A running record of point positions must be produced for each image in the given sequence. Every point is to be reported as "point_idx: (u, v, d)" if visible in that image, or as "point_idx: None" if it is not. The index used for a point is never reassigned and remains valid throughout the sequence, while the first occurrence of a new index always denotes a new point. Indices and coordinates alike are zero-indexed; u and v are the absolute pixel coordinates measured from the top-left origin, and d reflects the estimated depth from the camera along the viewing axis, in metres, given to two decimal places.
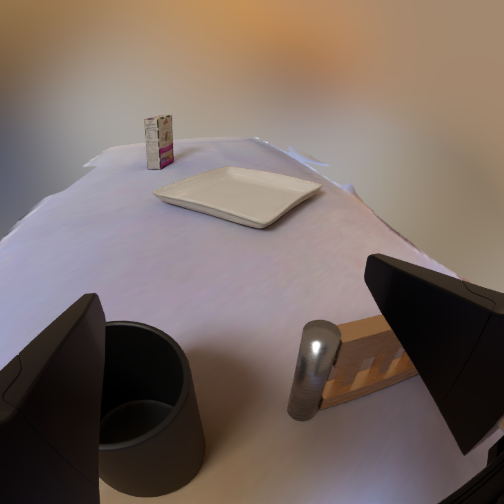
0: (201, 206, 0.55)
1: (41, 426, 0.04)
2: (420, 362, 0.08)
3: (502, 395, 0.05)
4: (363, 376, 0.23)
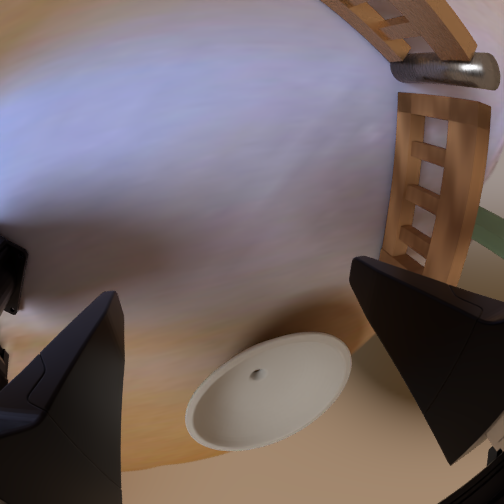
0: None
1: (68, 427, 0.04)
2: (405, 368, 0.08)
3: (489, 406, 0.05)
4: None
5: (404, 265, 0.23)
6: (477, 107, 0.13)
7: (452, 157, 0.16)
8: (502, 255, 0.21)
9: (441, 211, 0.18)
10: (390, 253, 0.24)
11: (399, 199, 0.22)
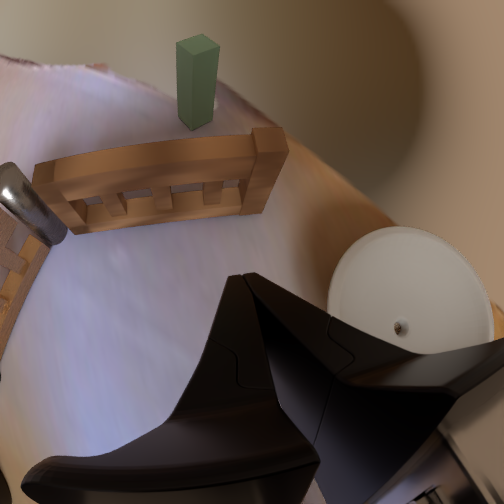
0: None
1: None
2: (285, 408, 0.07)
3: (358, 482, 0.04)
4: None
5: (244, 194, 0.21)
6: (37, 186, 0.14)
7: (98, 190, 0.17)
8: (214, 62, 0.20)
9: (159, 183, 0.18)
10: (239, 207, 0.23)
11: (175, 214, 0.22)
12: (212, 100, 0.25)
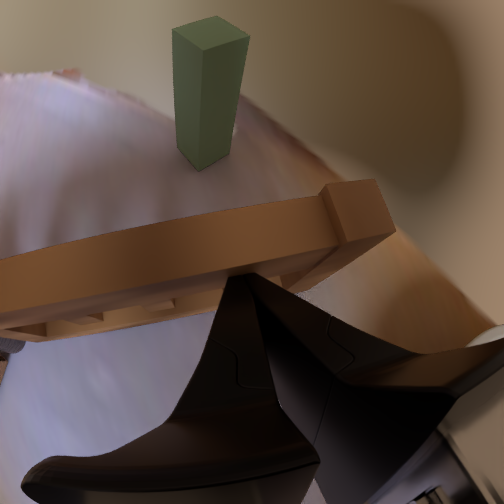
0: None
1: None
2: (285, 407, 0.07)
3: (358, 482, 0.04)
4: None
5: (292, 280, 0.13)
6: None
7: (42, 319, 0.08)
8: (238, 64, 0.12)
9: (148, 300, 0.09)
10: None
11: (180, 314, 0.14)
12: (231, 125, 0.16)
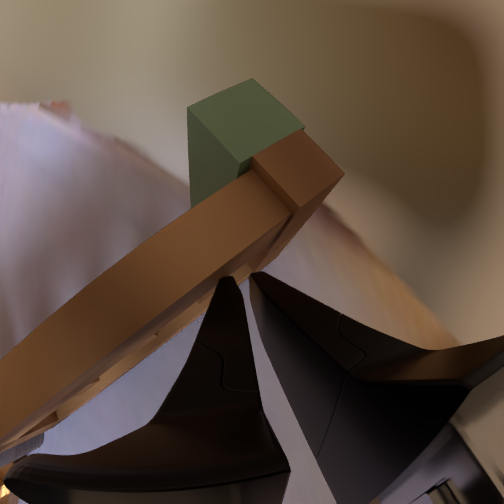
0: None
1: None
2: (294, 405, 0.07)
3: (369, 477, 0.04)
4: None
5: (257, 259, 0.12)
6: None
7: (43, 415, 0.07)
8: None
9: (129, 350, 0.08)
10: (249, 274, 0.14)
11: (166, 339, 0.13)
12: None
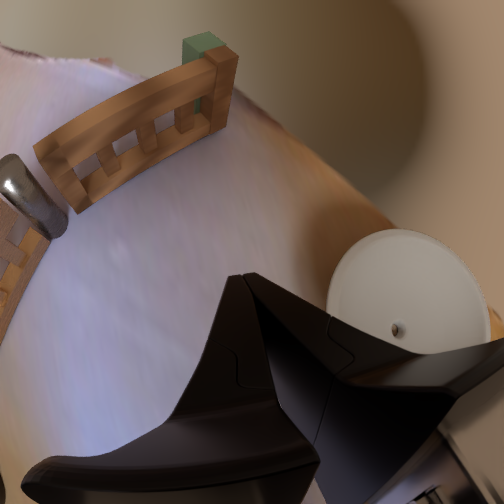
0: None
1: None
2: (285, 408, 0.07)
3: (358, 482, 0.04)
4: None
5: (211, 109, 0.23)
6: (44, 158, 0.15)
7: (98, 143, 0.17)
8: None
9: (148, 118, 0.19)
10: (209, 125, 0.25)
11: (161, 151, 0.24)
12: None
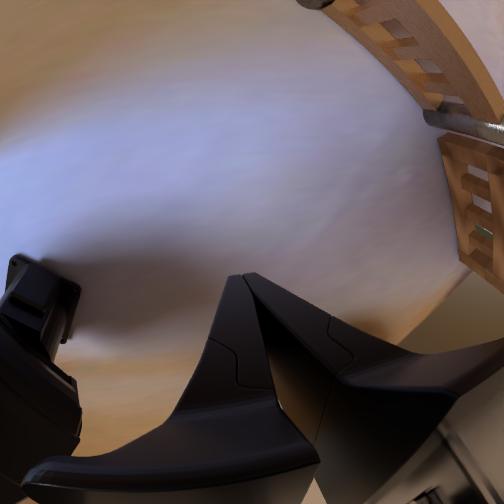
0: None
1: None
2: (285, 408, 0.07)
3: (358, 482, 0.04)
4: (383, 36, 0.15)
5: (478, 262, 0.26)
6: None
7: (496, 199, 0.18)
8: None
9: (496, 233, 0.21)
10: (466, 253, 0.27)
11: (462, 219, 0.25)
12: None
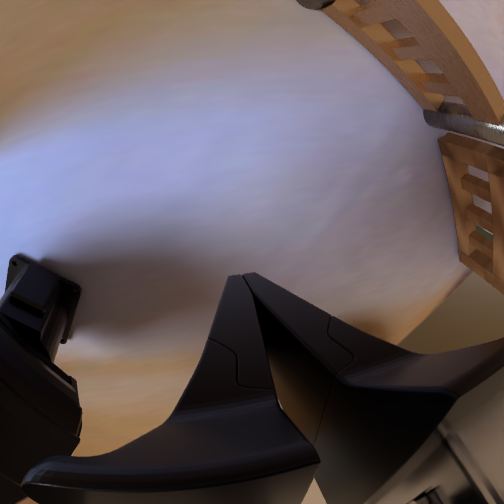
0: None
1: None
2: (285, 408, 0.07)
3: (358, 482, 0.04)
4: (383, 36, 0.15)
5: (478, 262, 0.26)
6: None
7: (496, 199, 0.18)
8: None
9: (496, 233, 0.21)
10: (466, 253, 0.27)
11: (462, 219, 0.25)
12: None
